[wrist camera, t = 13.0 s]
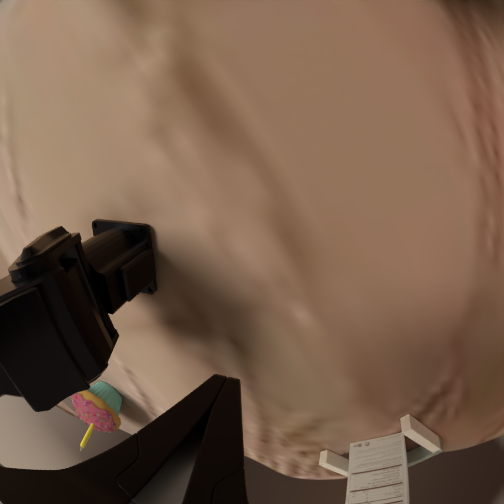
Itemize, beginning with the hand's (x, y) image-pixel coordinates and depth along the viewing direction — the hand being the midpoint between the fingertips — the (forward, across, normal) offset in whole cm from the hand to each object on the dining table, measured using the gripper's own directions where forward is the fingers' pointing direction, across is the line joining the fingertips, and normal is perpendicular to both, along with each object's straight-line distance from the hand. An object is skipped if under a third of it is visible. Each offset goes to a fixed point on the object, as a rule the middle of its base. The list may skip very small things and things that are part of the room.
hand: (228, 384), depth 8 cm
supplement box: (+13, -16, +27) cm, 34 cm away
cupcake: (+13, +24, +28) cm, 39 cm away
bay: (+13, -17, +27) cm, 34 cm away
